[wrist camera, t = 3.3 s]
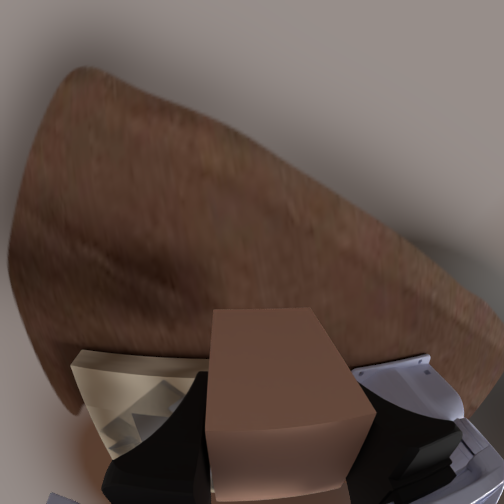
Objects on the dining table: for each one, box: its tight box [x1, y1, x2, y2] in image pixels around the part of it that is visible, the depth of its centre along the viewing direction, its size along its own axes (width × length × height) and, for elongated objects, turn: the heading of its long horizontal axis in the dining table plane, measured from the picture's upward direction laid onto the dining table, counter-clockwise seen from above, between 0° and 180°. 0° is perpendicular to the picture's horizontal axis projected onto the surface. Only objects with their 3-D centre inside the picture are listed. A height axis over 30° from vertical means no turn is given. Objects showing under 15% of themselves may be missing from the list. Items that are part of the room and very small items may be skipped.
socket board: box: [70, 350, 215, 492], centre depth 22 cm, size 19×19×2 cm
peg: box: [205, 307, 377, 501], centre depth 11 cm, size 5×5×8 cm
